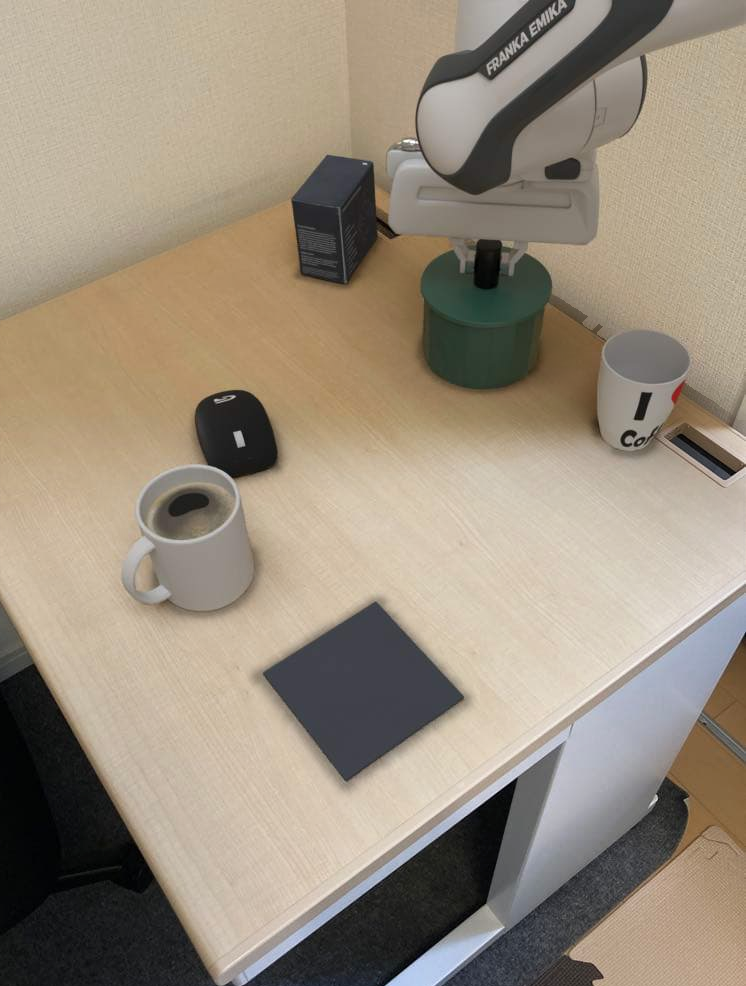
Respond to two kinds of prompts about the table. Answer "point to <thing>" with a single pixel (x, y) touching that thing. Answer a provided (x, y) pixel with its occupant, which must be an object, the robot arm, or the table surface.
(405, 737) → the mat
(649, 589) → the table surface
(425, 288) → the tin lid
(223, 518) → the mug
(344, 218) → the box
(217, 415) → the computer mouse
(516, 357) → the tin
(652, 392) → the cup
